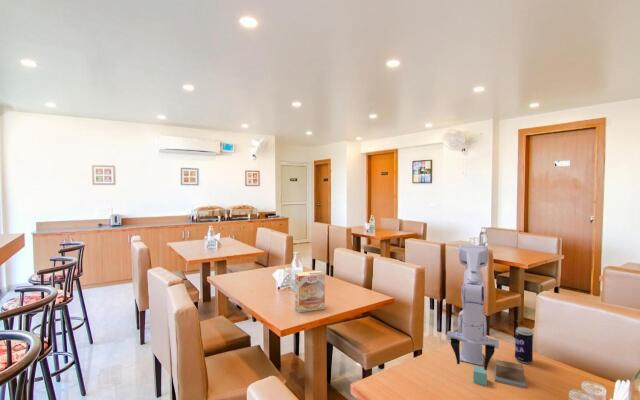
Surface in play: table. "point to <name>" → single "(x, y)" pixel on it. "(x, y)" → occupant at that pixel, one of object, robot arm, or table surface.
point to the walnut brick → (509, 370)
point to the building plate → (509, 380)
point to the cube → (480, 376)
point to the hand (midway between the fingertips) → (471, 365)
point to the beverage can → (524, 344)
